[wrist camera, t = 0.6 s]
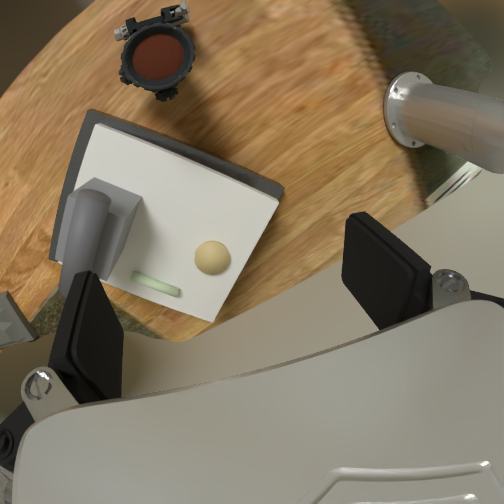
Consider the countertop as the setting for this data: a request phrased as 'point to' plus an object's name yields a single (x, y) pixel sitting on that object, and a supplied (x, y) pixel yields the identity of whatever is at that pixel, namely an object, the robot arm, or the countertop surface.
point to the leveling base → (161, 141)
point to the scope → (157, 51)
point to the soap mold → (13, 323)
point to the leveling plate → (158, 224)
